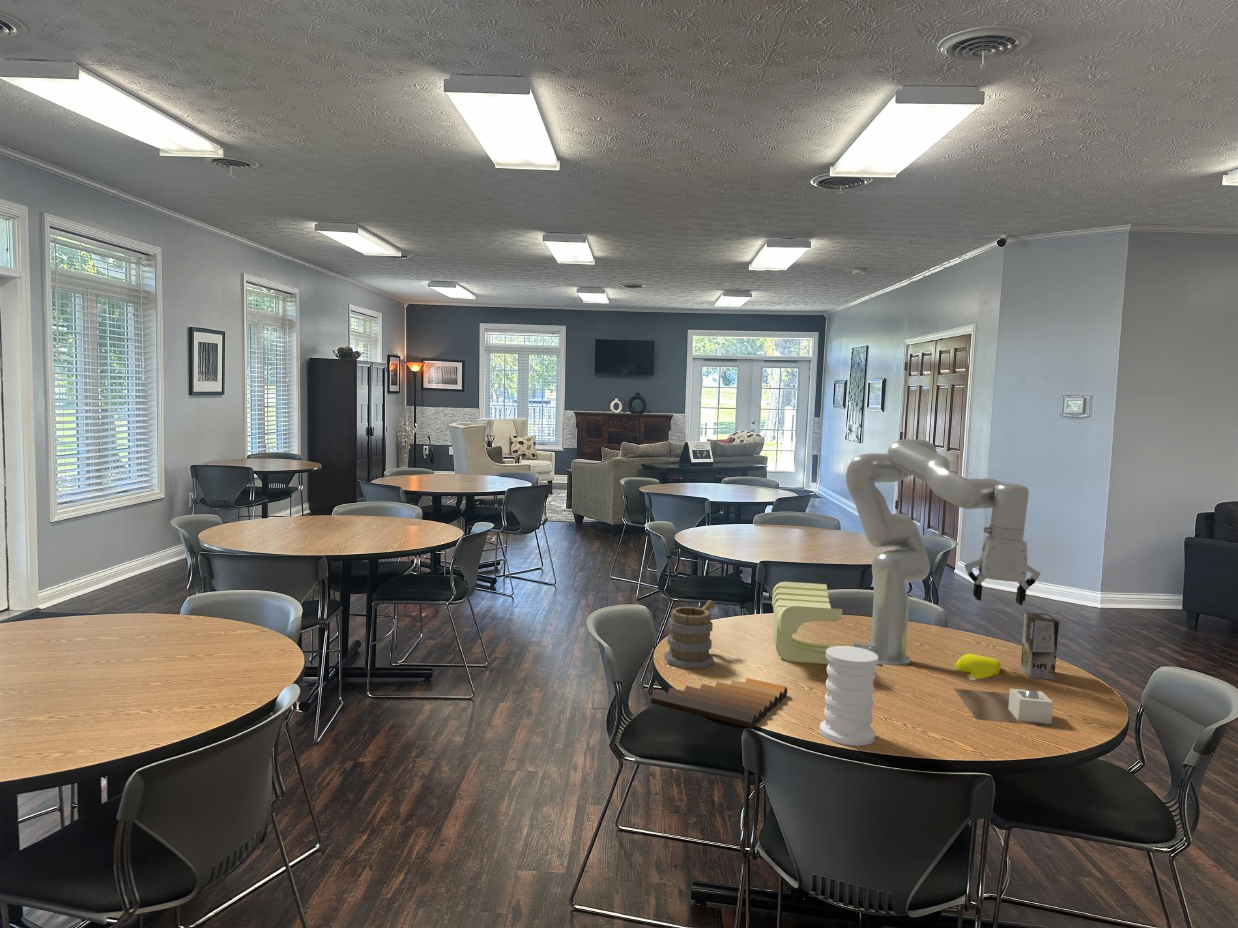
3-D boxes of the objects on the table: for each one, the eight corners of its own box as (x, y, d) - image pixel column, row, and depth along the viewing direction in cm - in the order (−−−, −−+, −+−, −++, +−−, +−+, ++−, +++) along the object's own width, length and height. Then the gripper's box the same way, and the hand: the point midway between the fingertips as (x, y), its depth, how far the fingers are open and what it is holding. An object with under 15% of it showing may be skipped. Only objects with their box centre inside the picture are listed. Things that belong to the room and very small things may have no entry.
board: (975, 725, 178) (976, 718, 178) (953, 694, 198) (953, 688, 198) (1060, 733, 175) (1061, 727, 175) (1029, 701, 195) (1029, 695, 195)
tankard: (696, 672, 207) (698, 616, 206) (656, 661, 214) (659, 607, 213) (733, 654, 223) (735, 603, 222) (695, 645, 230) (697, 595, 229)
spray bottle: (1002, 669, 220) (988, 696, 200) (961, 661, 226) (943, 686, 206) (1003, 659, 220) (989, 684, 200) (961, 651, 226) (943, 675, 206)
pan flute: (650, 705, 183) (751, 731, 171) (650, 691, 183) (751, 716, 171) (694, 676, 205) (787, 697, 192) (695, 663, 205) (787, 684, 192)
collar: (1018, 720, 178) (1019, 699, 178) (1008, 708, 185) (1009, 688, 185) (1051, 723, 177) (1053, 702, 177) (1040, 712, 184) (1041, 691, 183)
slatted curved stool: (770, 637, 241) (773, 580, 240) (823, 641, 239) (826, 584, 238) (777, 669, 211) (781, 604, 210) (838, 674, 209) (842, 609, 208)
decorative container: (837, 719, 178) (842, 642, 177) (884, 736, 170) (890, 655, 169) (809, 732, 170) (813, 651, 169) (857, 750, 162) (862, 665, 161)
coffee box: (1055, 680, 212) (1060, 621, 211) (1029, 677, 213) (1034, 619, 212) (1044, 669, 221) (1048, 613, 220) (1019, 666, 222) (1024, 611, 221)
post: (1025, 717, 180) (1027, 692, 179) (1022, 713, 182) (1024, 688, 182) (1036, 718, 180) (1038, 693, 179) (1033, 714, 182) (1035, 689, 181)
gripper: (973, 533, 190) (965, 601, 192) (1049, 540, 187) (1040, 609, 189) (965, 527, 198) (957, 593, 199) (1039, 534, 194) (1030, 601, 196)
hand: (998, 601), depth 194 cm, fingers open, 9 cm apart
